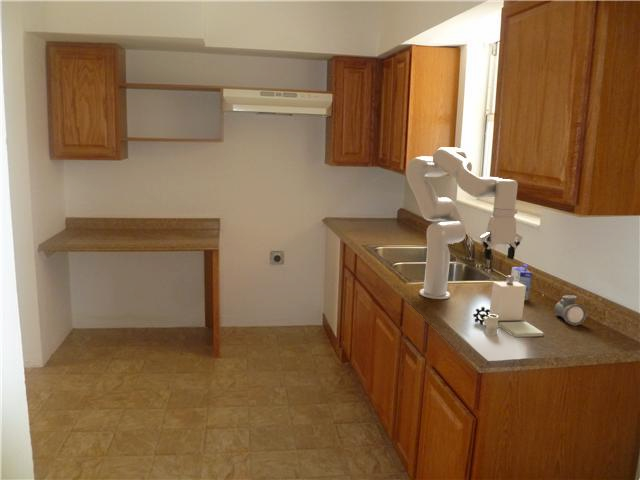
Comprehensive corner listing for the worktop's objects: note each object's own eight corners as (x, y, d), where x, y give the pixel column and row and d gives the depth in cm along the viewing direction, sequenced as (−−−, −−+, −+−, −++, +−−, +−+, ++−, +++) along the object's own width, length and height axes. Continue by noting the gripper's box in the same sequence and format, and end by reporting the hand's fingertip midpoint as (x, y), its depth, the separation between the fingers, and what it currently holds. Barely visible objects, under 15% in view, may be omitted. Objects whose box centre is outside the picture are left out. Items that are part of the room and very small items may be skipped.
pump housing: (486, 317, 212) (491, 273, 209) (512, 316, 214) (517, 273, 211) (497, 324, 204) (502, 279, 201) (523, 323, 207) (530, 279, 203)
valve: (502, 336, 193) (489, 323, 205) (504, 318, 192) (491, 306, 204) (484, 335, 193) (472, 323, 205) (486, 317, 191) (474, 306, 203)
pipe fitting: (587, 325, 208) (587, 298, 207) (565, 326, 207) (566, 299, 206) (570, 317, 219) (571, 292, 218) (550, 318, 219) (550, 293, 218)
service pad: (498, 325, 204) (498, 322, 203) (525, 324, 206) (525, 321, 206) (515, 336, 193) (515, 333, 193) (543, 335, 195) (543, 332, 195)
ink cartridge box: (529, 300, 236) (533, 267, 233) (516, 300, 236) (520, 267, 233) (520, 293, 246) (524, 261, 243) (507, 293, 245) (511, 261, 242)
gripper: (518, 211, 210) (513, 256, 213) (477, 211, 206) (472, 257, 209) (530, 214, 203) (525, 260, 206) (488, 214, 198) (483, 261, 202)
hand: (499, 258), depth 207 cm, fingers open, 9 cm apart
